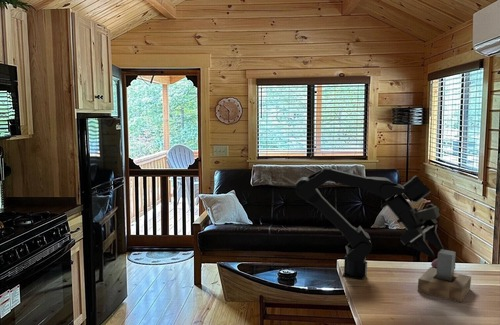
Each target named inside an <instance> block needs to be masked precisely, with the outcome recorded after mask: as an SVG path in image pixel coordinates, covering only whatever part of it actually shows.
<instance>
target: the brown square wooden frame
mask: <svg viewBox="0 0 500 325" xmlns="http://www.w3.org/2000/svg"><path fill="white" fill-rule="evenodd" d="M436 273H437V267H432V266H431V267H429V268H428V269H427V270H426V271H425V272H424V273H422V274H421V276H419V278H418V279H417V280H418V282H417V292H419V293H422V294H425V295H429V296H430V295H431V296H434V297H437V298H438V297H439V298H441V299H445V300H449V301H452V302H453V301H454V302H457V303H460V304H461V303H462V301H463V300H464V298H466V296H467V294H468V293H469V291H470V290H471V284H472V283H471V282H472V275H471V276H470V275H466V274H463V273H462V274H461V273H457V272H454V280H453V283H451V282H447V281H443V280H439V279H436Z"/></svg>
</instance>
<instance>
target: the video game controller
mask: <svg viewBox="0 0 500 325" xmlns="http://www.w3.org/2000/svg"><path fill="white" fill-rule="evenodd" d="M437 259H438V257H437V258H435V259H434V260H433V261H432V262H431V263H430V265H431V268H437ZM454 270H456V266H455V267H454Z"/></svg>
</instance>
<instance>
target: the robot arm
mask: <svg viewBox="0 0 500 325" xmlns="http://www.w3.org/2000/svg"><path fill="white" fill-rule="evenodd" d="M327 182H333V183H336V184H342V185H346V186H349V187H354V188H357V189H361V190H364V191H367V192H369V193H370V194H372V195H375V196H378V198H382V199H381V200H380V201H381V205H380V208H381V209H385V208H387V207H388V209H390V211H391V212H392V213H393V215H395V217H396V218H397V220H396V223H398V224H400V223H401V224H402V226H403V227H404V228H405V232H404V233H403V234H402V235H400V239H399V240H400V242H401V243H402V244H403V246H407V247H410V248H412V249H414V250H416V251H418V252H420V253H422V254H424V255H426V256H428V257H429V258H431V259H433V258H434V257H435V253H434V251H433V249H432V248H431V247H430V246H429V244H428V243H430V245H432V246H434V247H435V248H437V249H438V250H439V251H440V250H441V249H443V250H444V246H443V244H442V242H441V239H440V237H439V235H438V232H437V228H438V221H437V219H438V218H439V217H441V214H440V208H439V207H438V205H435V204H434V203H430V204H427V205H426V206H425V208H424V209H422V210H420V209H419V208H417V207H413V206H412V205H411V204H410V203H412V202H413V203H418V202H419V201H421V200H422V199H423V198H425V197H426V196H428V195H429V194H430V193H432V190H430V188H429V187H428V186H427V185H426V184H425V183H424V182H423V181H422V180H421V179H420V178H419V177H418V176H417V175H414V176H412V177H411V178H410V180H408V181H406V182H405V183H404V184H399V183H395V182H392V181H391V179H390V178H387V177H380V176H363V175H360V174H355V173H352V172H346V171H342V170H339V169H334V168H331V167H329V166H324V167H323V168H322V169H321V170H318V171H317V172H314V173H312V174H310V175H308V176H302V177H300V178H298V179H297V181H296V183H295V187H294V190H295V193H296V194H297V196H298V197H300V198H301V199H303V200H304V201H305V202H307V203H309V204H311V205H313V206H314V207H315V208H316V209H317V210H318V211H319V212H320V213H321V214H323V216H324V217H325V218H326V219H327V220H328V221H329V222H330V223H332V224H333V226H334V227H335V228H336V229H337V230H338V231H339V232H340V233H341V234H343V236H344V237H345V238H346V240H347V241H348V244H347V245H345V251H346V254H345V256H344V266H343V267H344V268H343V273H342V277H345V278H353V279H356V280H363V279H364V278H365V277H366V275H367V272H368V261H367V258H366V257H367V255H369V254H371V252H372V250H373V245H372V242H371V237H370V235H369V233H368V232H366V231H365V229H363V227H362V226H361V225H359V226H358V227H355V225H354V226H353V225H352V224H351V223H350V222H349V221H348V220H347V219H346V218H345V217H344V216H343V215H342V214H341V213H340V212H339V211H338V210H337V209H336V208H335V207H334V206H333V205H332V204H331V203H330V202H329V201H328V200H327V199H326V198H325V197H324V196H323V195H322V193H321V192H320V190H319V189H318V188H320V187H321V186H323V185H324V184H325V183H327ZM404 195H405V196H404ZM405 197H406V198H407V199H408V200H409V201H408V200H407V199H406V198H405ZM427 242H428V243H427Z"/></svg>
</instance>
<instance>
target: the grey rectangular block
mask: <svg viewBox="0 0 500 325" xmlns="http://www.w3.org/2000/svg"><path fill="white" fill-rule="evenodd" d="M456 254H457V253H456V251H453V250H449V249H448V250H447V249H444V248H443V249H441V250H440V249H439V251H438V252H437V258H438V259H437V258H436V259H437V267H436V269H437V273H436V279H439V280H443V281H447V282H451V283H453V280H454V273H455V269H454V267H455V268H456Z"/></svg>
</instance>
